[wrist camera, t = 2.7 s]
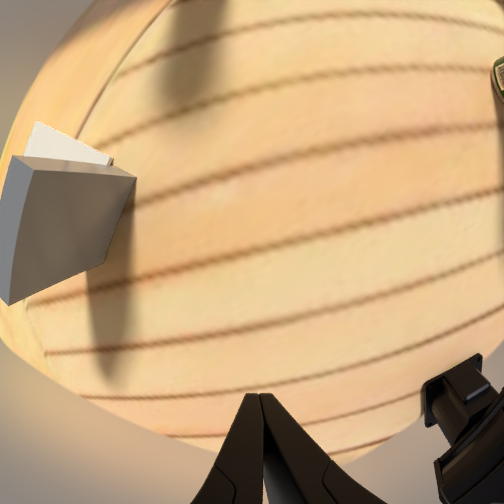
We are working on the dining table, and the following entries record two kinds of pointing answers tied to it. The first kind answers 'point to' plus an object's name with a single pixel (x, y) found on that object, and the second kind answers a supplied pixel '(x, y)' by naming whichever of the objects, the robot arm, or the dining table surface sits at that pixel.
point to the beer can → (498, 77)
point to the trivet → (61, 147)
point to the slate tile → (56, 221)
